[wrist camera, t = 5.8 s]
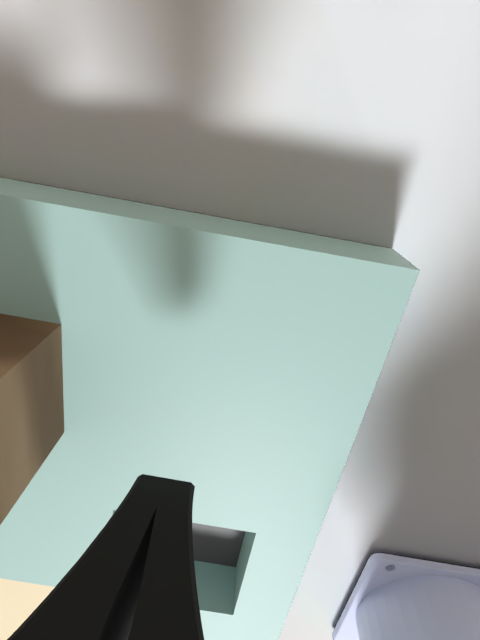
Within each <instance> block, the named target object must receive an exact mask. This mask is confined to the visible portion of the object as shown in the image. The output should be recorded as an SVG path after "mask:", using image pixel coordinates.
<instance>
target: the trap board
mask: <svg viewBox="0 0 480 640" xmlns="http://www.w3.org/2000/svg"><path fill="white" fill-rule="evenodd" d="M419 271H420V270H419V269H417V268H416V267H415V266H414V265H412V264H411V263H410V262H409V261H407V260H406V259H405V258H404V257H402V256H401V255H400V254H399V253H397V252H396V251H395V250H393V249H391V248H385V247H380V246H374V245H369V244H364V243H358V242H353V241H347V240H342V239H336V238H331V237H325V236H320V235H314V234H309V233H303V232H298V231H292V230H287V229H281V228H276V227H270V226H265V225H259V224H254V223H248V222H243V221H237V220H232V219H226V218H221V217H215V216H210V215H204V214H199V213H193V212H188V211H182V210H177V209H171V208H166V207H160V206H155V205H150V204H144V203H139V202H133V201H128V200H122V199H117V198H111V197H106V196H100V195H95V194H89V193H84V192H78V191H73V190H67V189H62V188H56V187H51V186H45V185H40V184H34V183H29V182H23V181H18V180H12V179H7V178H1V177H0V313H1V314H6V315H12V316H18V317H23V318H29V319H35V320H40V321H46V322H51V323H57V324H61V329H62V365H63V400H64V433H63V435H62V436H61V438H60V439H59V441H58V442H57V444H56V445H55V446H54V448H53V449H52V451H51V452H50V454H49V455H48V457H47V458H46V460H45V461H44V462H43V464H42V465H41V467H40V468H39V470H38V471H37V473H36V474H35V476H34V477H33V478H32V480H31V481H30V483H29V484H28V486H27V487H26V489H25V490H24V492H23V493H22V494H21V496H20V497H19V499H18V500H17V502H16V503H15V505H14V506H13V508H12V509H11V510H10V512H9V513H8V515H7V516H6V518H5V519H4V521H3V522H2V524H1V525H0V640H7V639H8V638H9V637H10V636H11V635H12V634H13V633H14V632H15V631H16V630H17V629H18V628H19V627H20V625H21V624H22V623H23V622H24V621H25V620H26V619H27V618H28V617H29V616H30V615H31V614H32V612H33V611H34V610H35V609H36V608H37V607H38V606H39V605H40V604H41V603H42V601H43V600H44V599H45V598H46V597H47V596H48V595H49V593H50V592H51V591H52V590H53V589H54V588H55V586H56V585H57V584H58V583H59V582H60V581H61V579H62V578H63V577H64V576H65V575H66V574H67V572H68V571H69V570H70V569H71V568H72V567H73V565H74V564H75V563H76V562H77V561H78V559H79V558H80V557H81V556H82V555H83V553H84V552H85V551H86V549H87V548H88V547H89V546H90V544H91V543H92V542H93V540H94V539H95V538H96V537H97V535H98V534H99V533H100V531H101V530H102V529H103V528H104V526H105V525H106V524H107V522H108V521H109V519H110V518H111V517H112V515H113V514H114V513H115V511H116V510H117V508H118V507H119V505H120V504H121V503H122V501H123V500H124V498H125V497H126V495H127V494H128V492H129V490H130V489H131V487H132V486H133V484H134V482H135V481H136V479H137V477H138V476H140V475H142V474H145V475H151V476H157V477H163V478H169V479H174V480H180V481H186V482H191V483H192V484H193V485H194V486H195V490H194V496H193V509H192V534H193V553H194V564H195V575H196V585H197V594H198V602H199V609H200V615H201V622H202V629H203V635H204V640H278V638H279V635H280V633H281V630H282V627H283V625H284V622H285V620H286V617H287V614H288V612H289V609H290V607H291V604H292V601H293V599H294V596H295V594H296V591H297V588H298V586H299V583H300V581H301V578H302V575H303V573H304V570H305V568H306V565H307V562H308V560H309V557H310V555H311V552H312V549H313V547H314V544H315V542H316V539H317V536H318V534H319V531H320V529H321V526H322V523H323V521H324V518H325V516H326V513H327V510H328V508H329V505H330V503H331V500H332V497H333V495H334V492H335V490H336V487H337V484H338V482H339V479H340V477H341V474H342V471H343V469H344V466H345V464H346V461H347V458H348V456H349V453H350V451H351V448H352V445H353V443H354V440H355V438H356V435H357V432H358V430H359V427H360V425H361V422H362V419H363V417H364V414H365V412H366V409H367V406H368V404H369V401H370V399H371V396H372V393H373V391H374V388H375V386H376V383H377V380H378V378H379V375H380V373H381V370H382V367H383V365H384V362H385V360H386V357H387V354H388V352H389V349H390V347H391V344H392V341H393V339H394V336H395V334H396V331H397V328H398V326H399V323H400V321H401V318H402V315H403V313H404V310H405V307H406V305H407V302H408V300H409V297H410V294H411V292H412V289H413V287H414V284H415V281H416V279H417V276H418V274H419Z"/></svg>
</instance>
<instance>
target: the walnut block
mask: <svg viewBox="0 0 480 640" xmlns="http://www.w3.org/2000/svg"><path fill="white" fill-rule="evenodd" d="M63 433H64V400H63V365H62V329H61V324H57V323H51V322H46V321H40V320H35V319H29V318H23V317H18V316H12V315H6V314H1V313H0V525H1V524H2V522H3V521H4V519H5V518H6V516H7V515H8V513H9V512H10V510H11V509H12V508H13V506H14V505H15V503H16V502H17V500H18V499H19V497H20V496H21V494H22V493H23V492H24V490H25V489H26V487H27V486H28V484H29V483H30V481H31V480H32V478H33V477H34V476H35V474H36V473H37V471H38V470H39V468H40V467H41V465H42V464H43V462H44V461H45V460H46V458H47V457H48V455H49V454H50V452H51V451H52V449H53V448H54V446H55V445H56V444H57V442H58V441H59V439H60V438H61V436H62V435H63Z"/></svg>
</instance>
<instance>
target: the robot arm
mask: <svg viewBox="0 0 480 640" xmlns="http://www.w3.org/2000/svg"><path fill="white" fill-rule="evenodd" d="M194 490H195V486H194V485H193V484H192V483H191V482H186V481H180V480H174V479H169V478H163V477H157V476H151V475H145V474H142V475H140V476H138V477H137V479H136V481H135V482H134V484H133V486H132V487H131V489H130V490H129V492H128V494H127V495H126V497H125V498H124V500H123V501H122V503H121V504H120V505H119V507H118V508H117V510H116V511H115V513H114V514H113V515H112V517H111V518H110V519H109V521H108V522H107V524H106V525H105V526H104V528H103V529H102V530H101V531H100V533H99V534H98V535H97V537H96V538H95V539H94V540H93V542H92V543H91V544H90V546H89V547H88V548H87V549H86V551H85V552H84V553H83V555H82V556H81V557H80V558H79V559H78V561H77V562H76V563H75V564H74V565H73V567H72V568H71V569H70V570H69V571H68V572H67V574H66V575H65V576H64V577H63V578H62V579H61V581H60V582H59V583H58V584H57V585H56V586H55V588H54V589H53V590H52V591H51V592H50V593H49V595H48V596H47V597H46V598H45V599H44V600H43V601H42V603H41V604H40V605H39V606H38V607H37V608H36V609H35V610H34V611H33V612H32V614H31V615H30V616H29V617H28V618H27V619H26V620H25V621H24V622H23V623H22V624H21V625H20V627H19V628H18V629H17V630H16V631H15V632H14V633H13V634H12V635H11V636H10V637H9V638H8V639H7V640H204V635H203V629H202V622H201V615H200V609H199V602H198V594H197V585H196V575H195V564H194V553H193V534H192V509H193V496H194ZM332 637H333V640H480V569H476V568H470V567H464V566H457V565H451V564H445V563H439V562H433V561H427V560H421V559H415V558H409V557H402V556H396V555H390V554H384V553H375V554H373V555H371V556H370V558H369V559H368V561H367V563H366V565H365V567H364V570H363V572H362V574H361V576H360V578H359V580H358V582H357V584H356V586H355V588H354V590H353V592H352V594H351V596H350V598H349V600H348V602H347V604H346V606H345V608H344V610H343V613H342V615H341V617H340V619H339V621H338V623H337V625H336V627H335V629H334V631H333V633H332Z"/></svg>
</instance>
